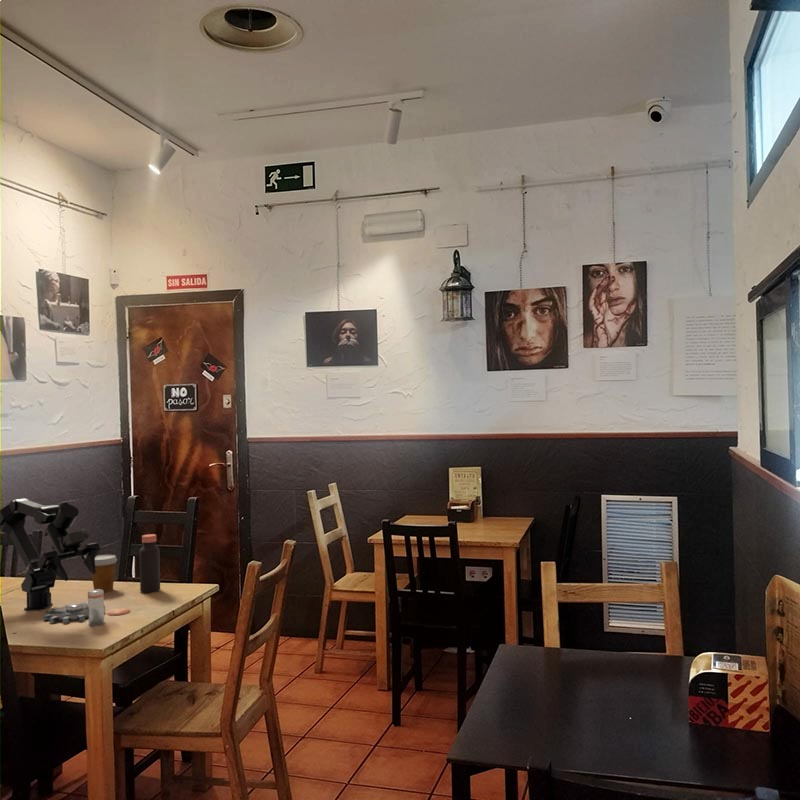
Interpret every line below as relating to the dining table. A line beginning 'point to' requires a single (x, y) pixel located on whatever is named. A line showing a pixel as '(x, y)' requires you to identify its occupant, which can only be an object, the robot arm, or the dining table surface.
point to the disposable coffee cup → (104, 572)
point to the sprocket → (68, 613)
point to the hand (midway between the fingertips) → (81, 576)
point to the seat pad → (118, 611)
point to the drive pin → (96, 607)
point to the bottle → (149, 565)
